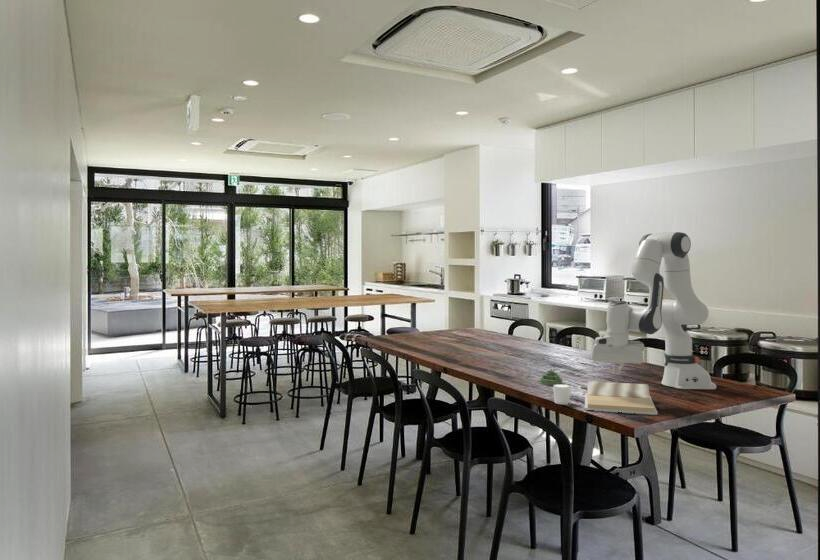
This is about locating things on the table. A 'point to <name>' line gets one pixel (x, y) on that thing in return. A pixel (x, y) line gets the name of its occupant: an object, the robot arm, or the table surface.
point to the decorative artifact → (550, 378)
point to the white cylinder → (561, 393)
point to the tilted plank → (618, 389)
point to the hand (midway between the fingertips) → (616, 373)
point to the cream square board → (620, 404)
